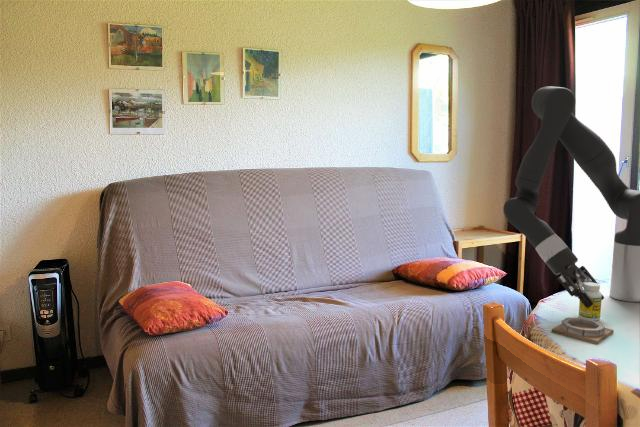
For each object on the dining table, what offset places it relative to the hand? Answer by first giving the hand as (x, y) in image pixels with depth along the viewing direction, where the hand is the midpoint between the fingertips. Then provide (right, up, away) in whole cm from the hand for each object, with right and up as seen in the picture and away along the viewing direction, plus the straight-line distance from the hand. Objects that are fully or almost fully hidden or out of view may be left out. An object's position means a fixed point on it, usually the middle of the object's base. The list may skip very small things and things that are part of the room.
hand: (596, 303), depth 148 cm
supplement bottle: (-1, -5, +2) cm, 5 cm away
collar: (-8, -6, -9) cm, 14 cm away
